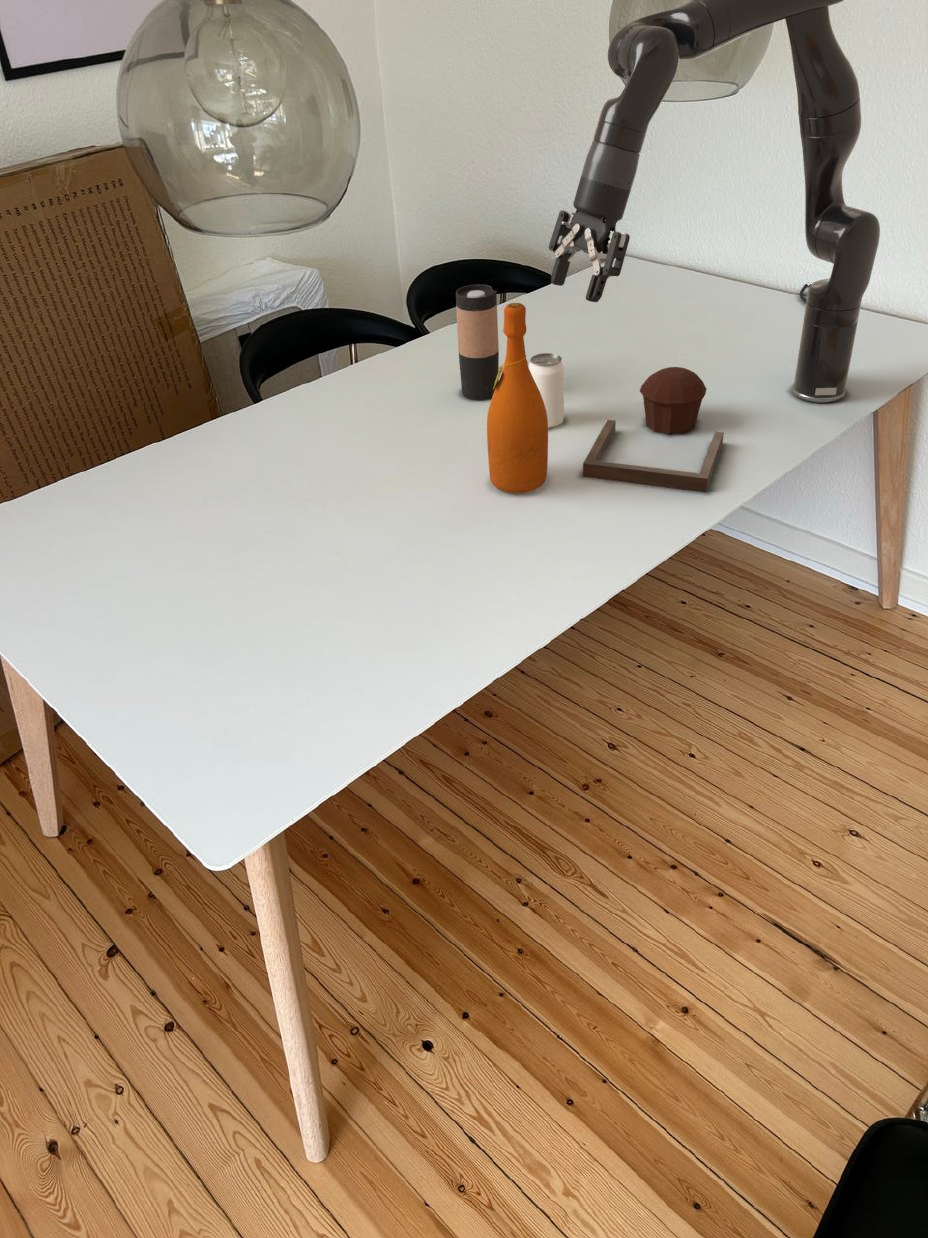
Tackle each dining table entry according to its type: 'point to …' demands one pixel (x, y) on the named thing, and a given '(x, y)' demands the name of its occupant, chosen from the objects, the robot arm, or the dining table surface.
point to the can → (550, 384)
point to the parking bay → (648, 474)
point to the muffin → (672, 400)
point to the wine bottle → (517, 416)
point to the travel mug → (477, 340)
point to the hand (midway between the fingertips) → (573, 292)
